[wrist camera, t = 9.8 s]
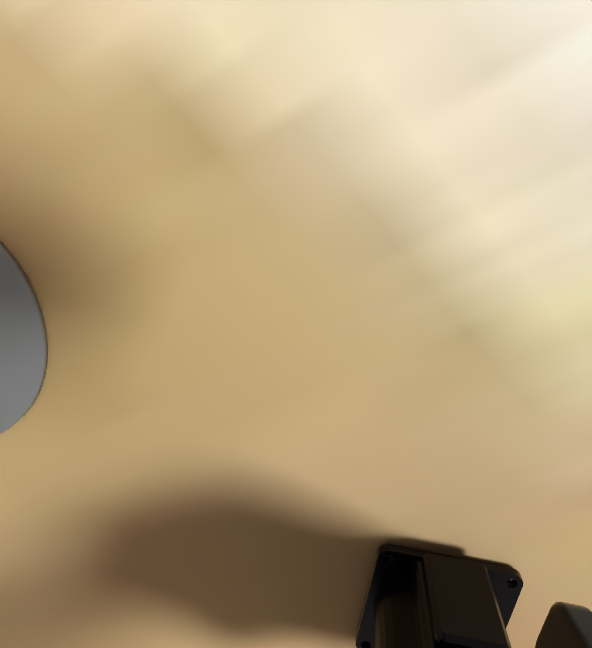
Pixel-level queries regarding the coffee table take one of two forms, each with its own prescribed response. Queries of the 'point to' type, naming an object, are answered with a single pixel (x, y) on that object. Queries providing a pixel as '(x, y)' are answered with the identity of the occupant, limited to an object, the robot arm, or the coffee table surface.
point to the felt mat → (19, 342)
